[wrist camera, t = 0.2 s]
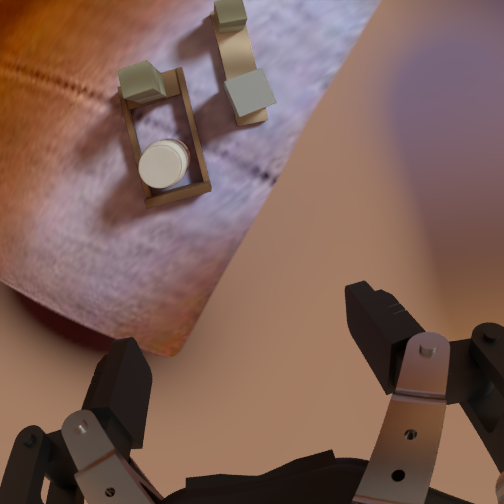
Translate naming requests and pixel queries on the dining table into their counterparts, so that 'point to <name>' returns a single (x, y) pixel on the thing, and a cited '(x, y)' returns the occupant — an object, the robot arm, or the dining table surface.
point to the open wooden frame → (149, 91)
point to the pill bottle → (164, 163)
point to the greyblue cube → (249, 92)
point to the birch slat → (235, 47)
